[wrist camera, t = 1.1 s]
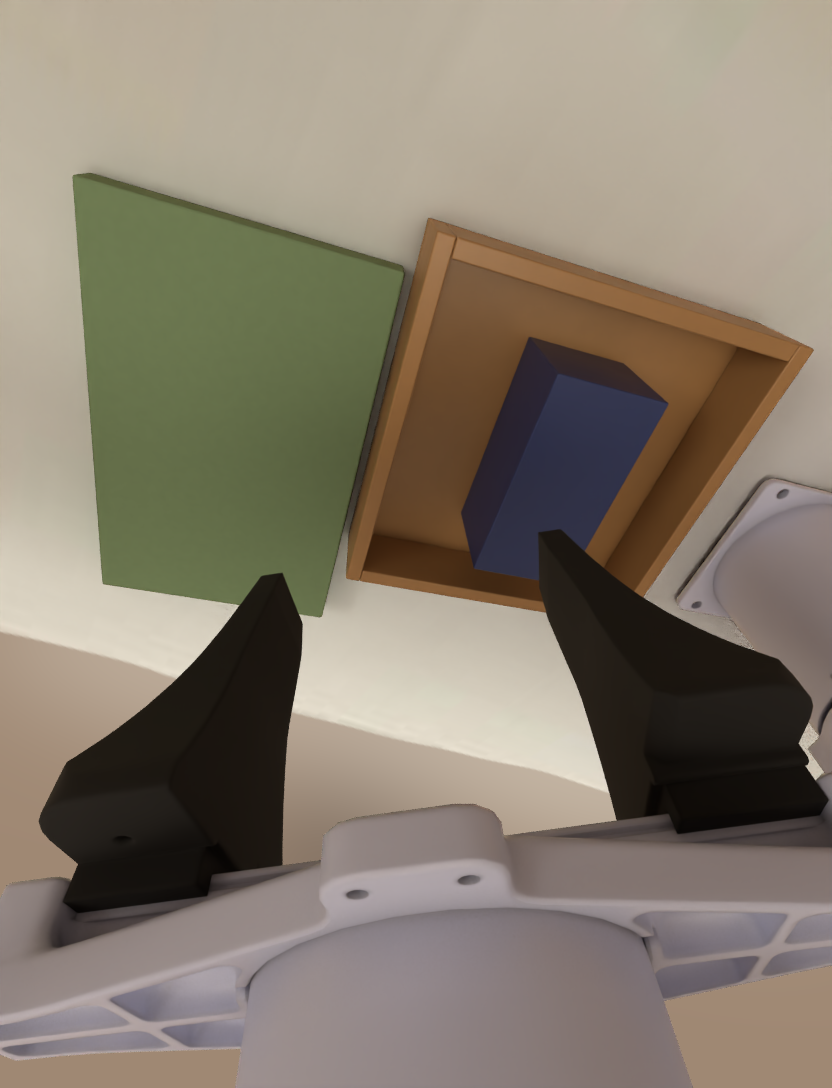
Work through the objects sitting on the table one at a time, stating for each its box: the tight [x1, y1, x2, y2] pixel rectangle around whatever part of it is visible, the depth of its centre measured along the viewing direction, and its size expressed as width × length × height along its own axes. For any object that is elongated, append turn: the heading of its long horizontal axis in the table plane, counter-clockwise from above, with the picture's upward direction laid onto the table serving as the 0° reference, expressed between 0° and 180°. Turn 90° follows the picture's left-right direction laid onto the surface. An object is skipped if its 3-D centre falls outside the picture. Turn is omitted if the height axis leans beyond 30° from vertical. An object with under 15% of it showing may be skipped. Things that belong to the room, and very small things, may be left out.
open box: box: [346, 218, 814, 612], centre depth 22 cm, size 13×13×3 cm
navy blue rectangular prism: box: [461, 337, 668, 580], centre depth 21 cm, size 4×8×4 cm, turn 164°
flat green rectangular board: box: [73, 173, 405, 617], centre depth 22 cm, size 10×16×1 cm, turn 164°
